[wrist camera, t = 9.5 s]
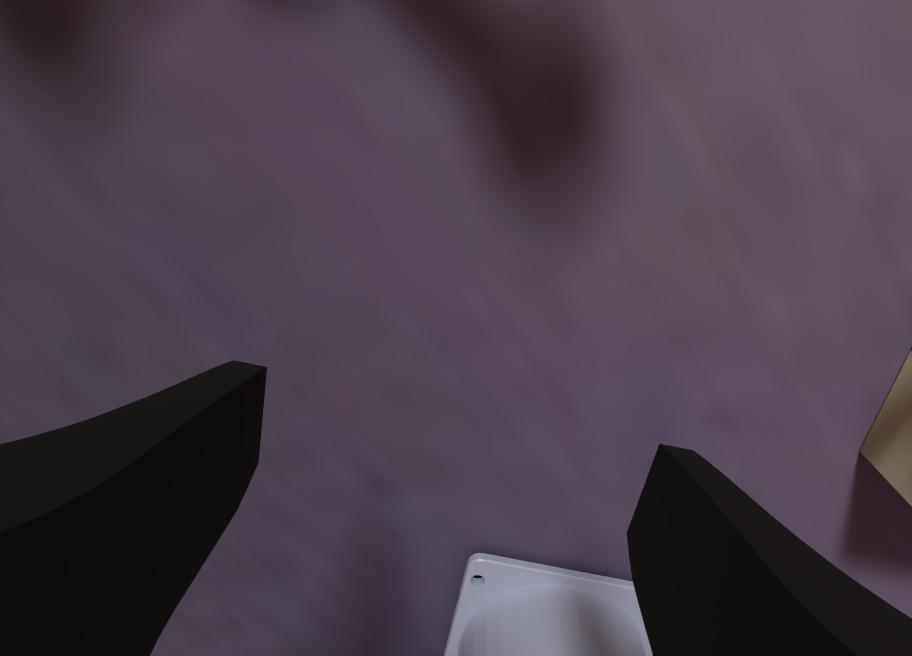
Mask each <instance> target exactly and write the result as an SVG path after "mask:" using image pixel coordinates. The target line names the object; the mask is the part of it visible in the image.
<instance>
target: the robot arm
mask: <svg viewBox="0 0 912 656" xmlns="http://www.w3.org/2000/svg"><path fill="white" fill-rule="evenodd" d="M266 372H267V367H264V366H259V365H254V364H249V363H244V362H239V361H234V360H233V361H230V362H227V363H224V364H222V365H219V366H217V367H215V368H212V369H210V370H208V371H205V372H203V373H201V374H199V375H196V376H194V377H192V378H190V379H187V380H185V381H183V382H180V383H178V384H176V385H174V386H171V387H169V388H167V389H164V390H162V391H160V392H157V393H155V394H153V395H151V396H148V397H146V398H143V399H141V400H138V401H135V402H133V403H130V404H127V405H125V406H122V407H120V408H117V409H114V410H112V411H109V412H107V413H104V414H101V415H99V416H96V417H93V418H91V419H88V420H85V421H82V422H79V423H76V424H72V425H69V426H66V427H63V428H60V429H56V430H53V431H49V432H46V433H42V434H39V435H35V436H32V437H28V438H24V439H21V440H17V441H13V442H8V443H4V444H0V656H150V654H151V652H152V650H153V648H154V646H155V644H156V642H157V640H158V638H159V636H160V634H161V633H162V631H163V629H164V627H165V626H166V624H167V622H168V620H169V619H170V617H171V615H172V613H173V612H174V610H175V608H176V607H177V605H178V604H179V602H180V600H181V599H182V597H183V596H184V594H185V593H186V591H187V589H188V588H189V586H190V585H191V583H192V581H193V580H194V578H195V577H196V575H197V573H198V572H199V570H200V569H201V567H202V565H203V564H204V562H205V561H206V559H207V558H208V556H209V554H210V553H211V551H212V550H213V548H214V546H215V545H216V543H217V542H218V540H219V538H220V537H221V535H222V534H223V532H224V530H225V529H226V527H227V525H228V524H229V522H230V521H231V519H232V517H233V516H234V514H235V512H236V511H237V509H238V507H239V505H240V503H241V501H242V498H243V496H244V494H245V492H246V490H247V488H248V485H249V483H250V481H251V479H252V476H253V474H254V472H255V469H256V467H257V465H258V462H259V451H260V440H261V429H262V417H263V406H264V395H265V383H266ZM627 540H628V549H629V558H630V565H631V572H632V579H633V582H632V581H626V580H621V579H616V578H611V577H605V576H600V575H595V574H590V573H584V572H579V571H574V570H569V569H563V568H558V567H553V566H548V565H542V564H537V563H532V562H527V561H521V560H516V559H511V558H506V557H500V556H495V555H490V554H485V553H477V554H473V555H472V556H471V557H469V559H468V561H467V565H466V569H465V573H464V577H463V581H462V585H461V588H460V592H459V596H458V600H457V604H456V608H455V612H454V616H453V620H452V624H451V628H450V632H449V636H448V640H447V644H446V648H445V652H444V655H443V656H912V618H910V617H908V616H907V615H905V614H904V613H902V612H901V611H899V610H897V609H896V608H894V607H893V606H891V605H890V604H888V603H887V602H885V601H884V600H883V599H881V598H880V597H878V596H877V595H875V594H874V593H872V592H871V591H869V590H868V589H866V588H865V587H863V586H862V585H861V584H859V583H858V582H856V581H855V580H853V579H852V578H850V577H849V576H848V575H846V574H845V573H844V572H842V571H841V570H839V569H838V568H837V567H835V566H834V565H833V564H831V563H830V562H829V561H827V560H826V559H825V558H824V557H822V556H821V555H820V554H818V553H817V552H816V551H815V550H813V549H812V548H811V547H809V546H808V545H807V544H806V543H804V542H803V541H802V540H800V539H799V538H798V537H797V536H796V535H794V534H793V533H792V532H791V531H789V530H788V529H787V528H786V527H785V526H783V525H782V524H781V523H780V522H779V521H777V520H776V519H775V518H774V517H773V516H771V515H770V514H769V513H768V512H767V511H766V510H764V509H763V508H762V507H761V506H760V505H759V504H757V503H756V502H755V501H754V500H753V499H752V498H750V497H749V496H748V495H747V494H746V493H745V492H743V491H742V490H741V489H740V488H739V487H738V486H737V485H735V484H734V483H733V482H732V481H731V480H730V479H728V478H727V477H726V476H725V475H724V474H723V473H721V472H720V471H719V470H718V469H717V468H715V467H714V466H713V465H712V464H711V463H709V462H708V461H707V460H705V459H704V458H703V457H701V456H700V455H699V454H697V453H696V452H694V451H693V450H688V449H683V448H678V447H673V446H668V445H663V444H659V447H658V449H657V452H656V455H655V458H654V460H653V463H652V466H651V469H650V471H649V474H648V477H647V479H646V482H645V485H644V488H643V490H642V493H641V496H640V498H639V501H638V504H637V507H636V509H635V512H634V515H633V518H632V520H631V523H630V526H629V528H628V531H627ZM475 575H480V576H483V577H482V578H475V577H473V576H475Z"/></svg>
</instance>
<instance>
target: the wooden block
mask: <svg viewBox="0 0 912 656" xmlns="http://www.w3.org/2000/svg"><path fill="white" fill-rule="evenodd" d="M860 452H861V453H862V454H863V455H864V457H865V458H866V459H867V460H868V461H869V462H870V463H871V464H872V465H873V466H874V467H875V468H876V469H877V470H878V471H879V472H880V473H881V474H882V476H883V477H884V478H885V479H886V480H887V481H888V482H889V483H890V484H891V485H892V486H893V487H894V488H895V489H896V490H897V491H898V492H899V493H900V495H901V496H902V497H903V498H904V499H905V500H906V501H907V502H908V503H909V504H910V505H911V506H912V349H911V351H910V353H909V355H908V357H907V359H906V361H905V363H904V365H903V367H902V369H901V371H900V373H899V375H898V377H897V379H896V381H895V383H894V385H893V386H892V388H891V390H890V392H889V394H888V396H887V398H886V400H885V402H884V404H883V406H882V408H881V410H880V412H879V414H878V416H877V418H876V420H875V422H874V424H873V426H872V428H871V430H870V432H869V434H868V436H867V437H866V439H865V441H864V443H863V445H862V447H861V449H860Z"/></svg>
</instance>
